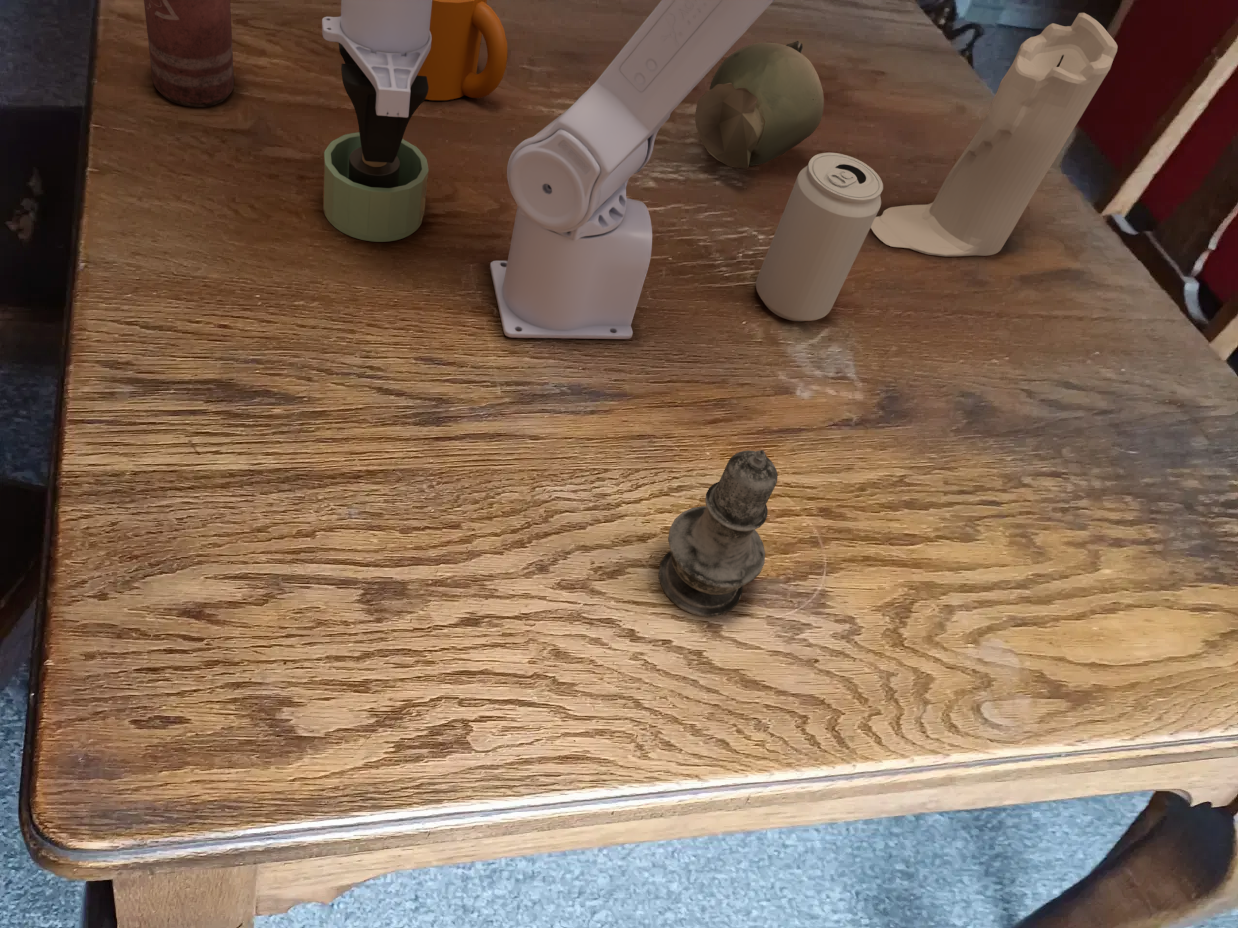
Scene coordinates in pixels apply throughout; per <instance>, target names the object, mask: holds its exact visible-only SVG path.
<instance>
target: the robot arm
mask: <svg viewBox="0 0 1238 928" xmlns="http://www.w3.org/2000/svg"><path fill="white" fill-rule="evenodd" d="M340 1H341V2H340V15H339V16H330V15H329V16H324V17H322V19H321V33H322V34H321V35H322V38H323V39H324V40H325V41H327V42H331V43H338V50H339V54H340V56H341V58H342V60H343V63H340V64H341V66H340V70H341V79H342V80H341V81H342V84H343V88H344V90H345V92H346V94H347V96H348V98H349V99H350V102H351V104H352V106H353V109H354V112H355V114H356V119H357V125H358V132H359V133H360V142H361V148H362V153H363V156H364V159H365V161H370V162H386V163H393V162H394V160H395V158H396V155H397V153H398V150H399V147H400V144H401V141H402V139H404V136H405V132H406V130H407V127H408V124H409V123H410V120H411V119H412V117H413V115H414V113H415V112H416V111H417V109H419V106H421V104H423V102H424V101H425V100H426V99H425V98H426V96H427V93H428V89H429V86H428V81H427V76H418V75H417V74H418V72H419V70H420V68H421V67H422V65H423V63H424V61H425V59H426V57H427V55H428V54H429V51H430V49H431V40H432V35H431V32H430V30H429V29H430V19H431V8H432V0H340ZM774 1H775V0H660V2H659V3H658V4H657V5H656V6H655V7H654V9H653V10H652V11H651V13H650V14H649V15H648V16H647V18H646V19H645V20H644V21H643V22H642V24H641V25H640V26H639V28H637V30H636V31H635V32H634V34H632V36H631V37H630V38H629V40H628V41H627V42H626V43H625V45H624V46H623V47H622V48H621V50H620V51H619V52H618V53H617V54H616V56H615V57H614V58H613V60H612V61H611V62H610V63H609V64H608V66H607V67H606V68H605V69H604V71H603V72H602V73H601V75H600V76H599V77H598V78H597V79H596V80H595V81H594V83H593V84H592V85H590V87H589V88H588V89H587V90H585V92H583V93H582V94H581V95H580V96H578V98H577V99H576V100H575V101H574V102H573V104H572V105H571V106H570V107H568V108H567V109H566V110H564V112H562V113H560V115H558V116H557V117H556V118H554V120H552V121H551V122H549V123H548V124H547V125H545V127H544V128H542V129H541V130H540V131H538V132H537V133H535V134H534V136H531V137H528V138H526V139H524V140H522V141H521V142H520V143H518V145H516V146H515V148H514V149H513V150H512V151H511V154H510V156H509V158H508V161H507V165H506V181H507V184H508V188H509V189H508V190H509V191H510V194H511V196H512V199H513V200H514V203H515V204H516V206H517V207H516V212H515V217H514V223H513V229H512V233H511V234H512V235H511V240H510V245H509V251H508V257H507V260H493V261H491V262H490V264H489V270H490V275H491V279H492V285H493V289H494V293H495V298H496V301H497V306H498V312H499V316H500V321H501V326H502V331H503V334H504V335H505V336H506V337H508V338H512V339H513V338H518V339H519V338H521V339H581V340H582V339H583V340H584V339H585V340H587V339H589V340H590V339H591V340H593V339H594V340H599V339H600V340H630V339H632V337H633V334H634V332H633V327H632V324H633V321H634V320H633V319H634V316H635V313H636V310H637V307H638V303H639V300H640V297H641V294H642V290H643V287H644V284H645V280H646V278H647V273H648V270H649V267H650V263H651V258H652V249H653V226H652V219H651V215H650V212H649V208H648V207H647V205H646V204H645V202H644V201H642V200H637V199H633V198H629V197H627V185H628V182H629V179H630V178H631V177H632V176H634V175H635V174H637V173H639V172H641V170H642V169H644V167H645V166H646V165H647V164H648V162H649V161H650V159H651V157H652V154H653V151H654V145H655V141H656V137H657V134H658V133H659V131H660V130H661V128H662V127H663V126H664V124H665V123H667V121H669V119H670V118H671V114H672V113H673V111H674V110H676V108H677V107H678V106H679V105H680V104H681V103H682V102H683V101H684V100H685V99H686V97H688V95H689V94H690V93H691V92H692V91H693V90H694V88H696V86H697V85H698V84H699V83H700V82H701V81H702V80H703V79H704V78H705V76H706V75H708V73H709V72H711V70H712V69H713V68H714V67H715V66H716V65H717V64H718V62H719V61H721V59H722V58H723V57H724V56H725V55H726V54H727V53H728V51H729V50H730V49H731V48H732V47H733V46H734V45H735V44H736V42H738V41H739V39H740V38H741V37H742V36H744V34H745V33H746V32H747V31H748V30H749V28H750V27H751V26H752V25H754V23H755V22H756V21H757V20H758V19H759V17H760V16H762V14H763V13H764V12H765V11H766V10H767V9H768V8H769V6H770V5H772V3H774Z"/></svg>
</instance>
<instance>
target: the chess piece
mask: <svg viewBox="0 0 1238 928" xmlns="http://www.w3.org/2000/svg"><path fill="white" fill-rule="evenodd" d="M778 475H779V474H778V471H777V468H776V466H775V464H774V462H773V461H772V460H771V459H770V458H769V457H767V454H766V452H765V450H764V449H760V450H756V451H755V450H741V451H739V452H737V453H734V454H733V455H732V456H731V457H730V458H729V459H728V462H727V464H726V465H725V467H724V470H723V472H722V474H721V476H720V479H719V481H717V482H715V483H713V484H712V485H711V486H710V487H708V489H707V492H706V493H705V497H704V498H705V499H704V500H705V505H702V506H696V507H691V508H689V509H686V510H684V511H682V512H681V513H680V514H678V516H676V517H675V518H674V520H673V521H672V524H671V525H670V527H669V531H668V537H667V541H668V546H669V551H668V552H667V553H666V554H665V555H664V557H663V558H662V560H661V562H660V564H659V568H658V578H659V583H660V586H661V588H662V590H663V593H664V594H665V595H666V596H667V598H668V599H669V600H670V602H672V603H673V604H674V605H676V606H677V607H678V608H679V609H681V610H683V611H685V612H687V613H688V614H692V615H695V616H698V617H705V618H706V617H708V618H709V617H710V618H714V617H718V616H723V615H725V614H727V613H729V612H730V611H732V610H733V609H735V607H736V606H737V605H738V604H739V602H740V600H741V597H742V596H743V590H744V586H746V585H747V584H749V583H751V582H753V581H754V580H755V579H756V578H757V577H758V576H759V575H760V574H761V573H762V570H763V568H764V566H765V562H766V549H765V546H764V542H763V540H762V539H761V536H760V535H759V533H758V531H757V530H758V529H759V528H761V527H762V526H763V525H764V524H765V522H766V520H767V518H768V511H769V509H768V505H767V503H768V501H769V499H770V497H771V496H772V494H773V491H774V490H775V487H776V486H777V484H778Z"/></svg>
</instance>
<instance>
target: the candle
mask: <svg viewBox="0 0 1238 928" xmlns="http://www.w3.org/2000/svg"><path fill="white" fill-rule="evenodd" d="M1117 52H1118V44H1117V42H1116V41H1115V40H1114V38H1113V37H1112V35H1110V34H1109V32H1108V31H1107V30H1106V28H1105V26H1103V25H1102V24H1101V23H1100V22H1099V21H1098V20H1097V19H1095V18H1094V17H1092V16H1091V15H1089V14H1087V13H1085V12H1079V13H1078V14H1077V16H1076V17H1075V19H1074V20H1073V22H1072V24H1071V25H1067V26H1064V25H1061V24H1057V23H1053V22H1052V23H1050V24H1048V25H1047V26H1046V27H1044V29H1043V30H1042V31H1041V33H1040V34H1037V35H1036V36H1031V37H1029V38H1027V39H1025V41H1023V42H1022V43H1021V44H1020V46H1019V48H1018V51H1017V53H1016V56H1015V58H1014V59H1013V62H1012V64H1011V65H1010V67H1009V68H1008V70H1007V72H1006V73H1005V75H1004V76H1003V77H1002V79H1001V80H1000V83H999V85H998V88H997V90H996V93H995V95H994V97H993V98H992V101H991V104H990V106H989V108H988V111H987V113H986V115H985V118H984V120H983V122H982V124H981V126H980V128H979V129H978V130H977V132H976V133H975V135H973V137H972V138H971V140H970V142H969V143H968V145H967V147H966V148H965V149H964V150H963V152H962V154H961V155H960V156H959V158H958V159H957V160H956V162H955V163H954V165H953V167H952V168H951V169H950V171H949V172H948V174H947V176H946V177H945V179H944V181H943V183H942V184H941V186H940V189H939V190H938V192H937V194H936V196H935V197H934V199H933V201H932V202H930V203H928V204H909V205H900V206H891V207H888V208H886V209H885V210H883V212H882V214H881V215H879V216H876V217H875V219H874V221H873V223H872V225H871V227H870V229H871V231H872V232H873V234H874V235H875V236H876V237H877V238H878V239H879V240H880V241H881V242H883V244H885V245H887V246H890V247H893V248H904V249H910V250H913V251H915V252H917V253H918V252H919V253H922V254H925V255H928V256H929V255H930V256H937V257H969V256H985V257H987V256H993V255H996V254H998V253H999V252H1001V251H1002V249H1003V247H1004V245H1005V244H1006V242H1007V240H1008V239H1009V237H1010V236H1011V234H1012V233H1013V231H1014V229H1015V228H1016V225H1017V224H1018V222H1019V220H1020V219H1021V217H1022V215H1023V213H1024V211H1025V210H1026V208H1027V206H1028V204H1029V203H1030V201H1031V200H1032V198H1033V196H1034V194H1035V193H1036V191H1037V189H1038V188H1039V186H1040V184H1041V183H1042V181H1043V179H1044V178H1045V176H1046V175H1047V173H1048V172H1049V170H1050V169H1051V167H1052V166H1053V164H1054V163H1055V161H1056V159H1057V157H1058V156H1059V154H1060V153H1061V151H1062V150H1063V148H1064V146H1065V144H1066V142H1067V141H1068V139H1069V138H1070V136H1071V134H1072V132H1073V131H1074V129H1075V128H1076V126H1077V124H1078V123H1079V121H1080V119H1081V118H1082V116H1083V114H1084V113H1085V111H1086V110H1087V108H1088V106H1089V105H1090V103H1091V101H1092V99H1093V97H1094V96H1095V94H1096V93H1097V91H1098V89H1099V88H1100V86H1101V85H1102V83H1103V81H1104V79H1106V76H1107V75H1108V73H1109V72H1110V70H1111V68H1112V64H1113V61H1114V59H1115V57H1116V54H1117Z"/></svg>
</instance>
